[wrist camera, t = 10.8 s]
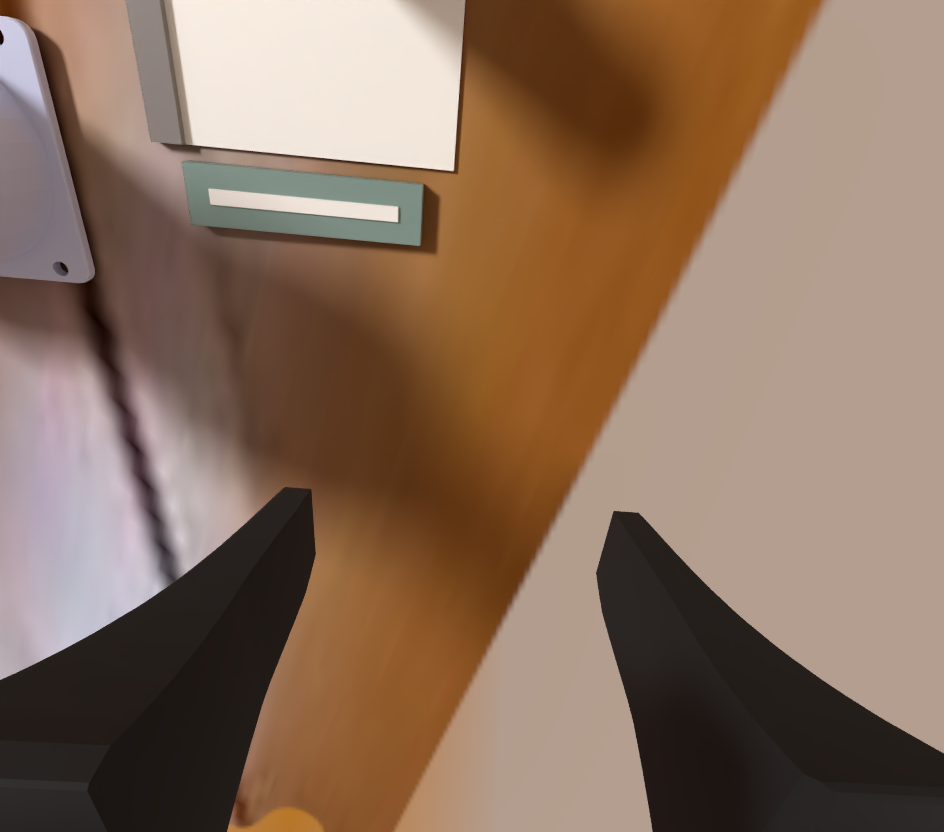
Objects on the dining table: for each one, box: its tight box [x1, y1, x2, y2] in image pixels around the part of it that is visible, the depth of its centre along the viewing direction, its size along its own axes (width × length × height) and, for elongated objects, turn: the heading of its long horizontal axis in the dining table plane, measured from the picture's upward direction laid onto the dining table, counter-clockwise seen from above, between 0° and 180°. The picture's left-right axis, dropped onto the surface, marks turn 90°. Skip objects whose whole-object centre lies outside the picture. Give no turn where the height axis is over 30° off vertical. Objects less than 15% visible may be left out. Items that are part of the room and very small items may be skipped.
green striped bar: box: [182, 161, 424, 246], centre depth 19 cm, size 8×2×1 cm, turn 85°
